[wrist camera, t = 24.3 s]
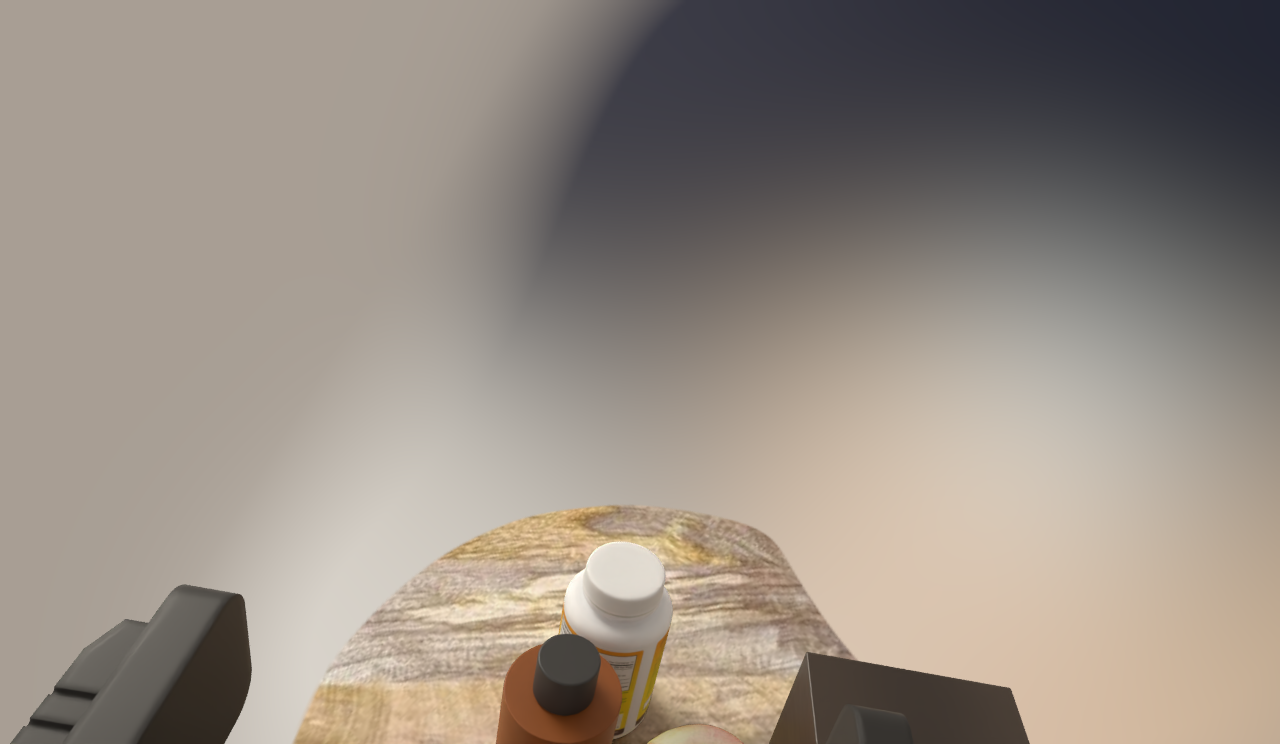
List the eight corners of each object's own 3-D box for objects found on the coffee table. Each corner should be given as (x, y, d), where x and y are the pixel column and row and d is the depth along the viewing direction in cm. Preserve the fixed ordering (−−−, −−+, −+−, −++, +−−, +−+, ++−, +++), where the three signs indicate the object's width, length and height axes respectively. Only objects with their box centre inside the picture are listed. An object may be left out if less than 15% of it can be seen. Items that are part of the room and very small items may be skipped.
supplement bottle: (616, 647, 51) (646, 518, 46) (665, 722, 47) (704, 592, 42) (530, 678, 48) (551, 545, 43) (576, 762, 45) (605, 627, 39)
